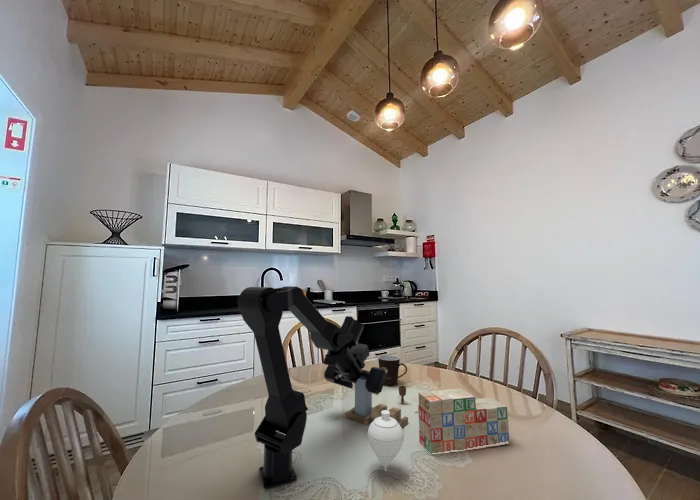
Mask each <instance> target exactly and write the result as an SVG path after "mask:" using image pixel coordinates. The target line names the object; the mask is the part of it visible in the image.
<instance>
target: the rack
mask: <svg viewBox="0 0 700 500" xmlns="http://www.w3.org/2000/svg"><path fill="white" fill-rule="evenodd" d="M372 408H374V407H373V406H372ZM344 414H345V416H344V417H345V419H347V420H351V421H352V422H353V421H354V422H358V423H360V424H362V425H365V426H368V425H370V424H371V414H370V415H368V416H367V417H364V416H361V415H357V414H355V406H353V407H352V408H351V409H349V410H348V411H346V412H345V413H344ZM398 423H399V425H400V426H401V428H402V429H403V428H404V427H406V425H407V424H409V417H408V416H406V415H404V416H403V417H401V420H400V421H399V422H398Z"/></svg>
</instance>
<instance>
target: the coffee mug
mask: <svg viewBox="0 0 700 500" xmlns="http://www.w3.org/2000/svg"><path fill="white" fill-rule="evenodd" d="M377 359H378V368H382V369H384V370H385V372H386V373H387V377H386V380H385V382H384V385H383V387H389V388H390V387H396V386H398V382H399V380H398V379H400V378H402V377H404V375H406V374H407V372H408V367H407V365H406V364H405V363H402V362H401V363H400V360H401V357H400V356H397V355H393V354H392V355H390V354H389V355H388V354H382V355H379V356H378V357H377ZM400 366H403V367H404V368H405V370H404V372H403V374H400V375H399V372H400V371H399V370H400Z"/></svg>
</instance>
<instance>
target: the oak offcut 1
mask: <svg viewBox="0 0 700 500" xmlns="http://www.w3.org/2000/svg"><path fill="white" fill-rule="evenodd" d="M383 410H387V411H388V405H387V404H384V403H381V402H380V403H378V404H377V405H376V406H374V407H373V408H372V409H371V423H372V422H373V421H374V419H375V418H378V417H381V411H383ZM371 423H370V424H371Z"/></svg>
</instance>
